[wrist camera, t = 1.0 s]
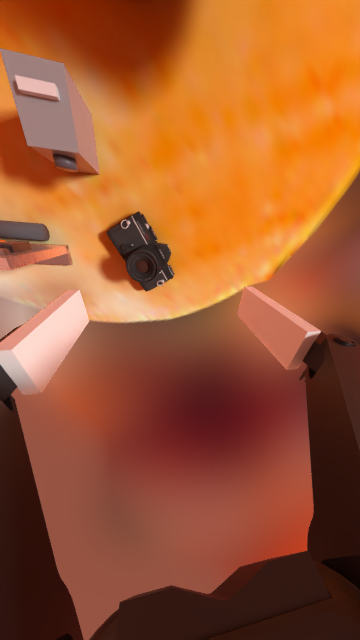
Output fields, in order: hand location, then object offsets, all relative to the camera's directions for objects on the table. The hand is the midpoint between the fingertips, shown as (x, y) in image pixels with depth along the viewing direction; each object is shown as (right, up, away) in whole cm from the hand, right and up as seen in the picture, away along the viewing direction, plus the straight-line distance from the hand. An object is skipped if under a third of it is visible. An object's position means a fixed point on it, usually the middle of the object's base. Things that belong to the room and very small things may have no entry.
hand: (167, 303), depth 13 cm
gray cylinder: (-26, +14, +13) cm, 32 cm away
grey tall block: (-14, +24, +9) cm, 29 cm away
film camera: (-6, +12, +18) cm, 22 cm away
